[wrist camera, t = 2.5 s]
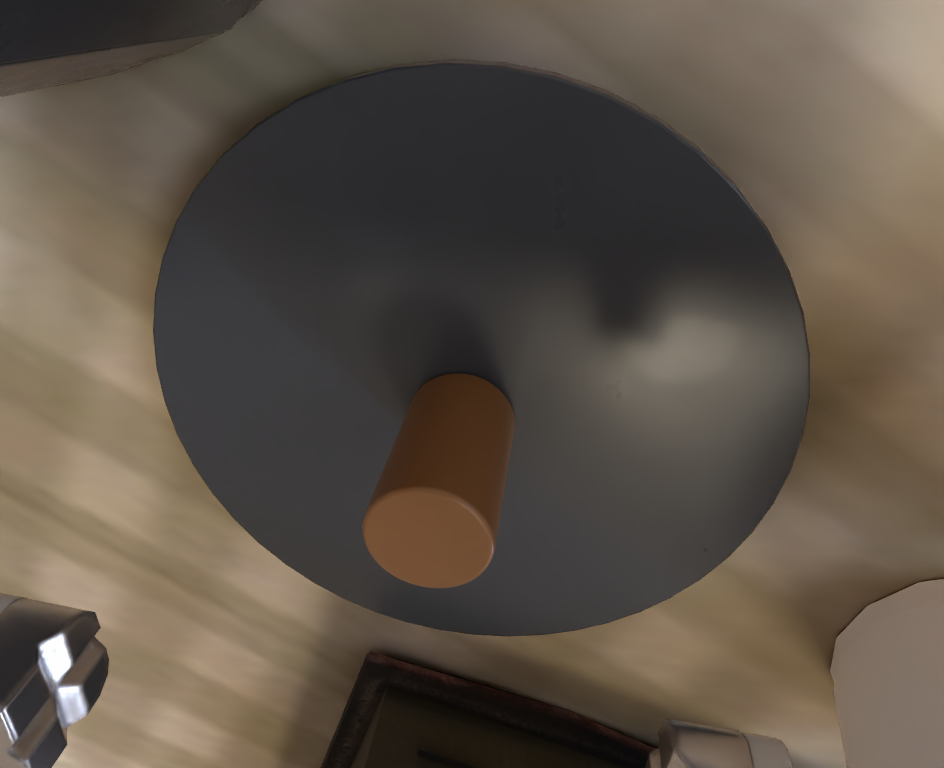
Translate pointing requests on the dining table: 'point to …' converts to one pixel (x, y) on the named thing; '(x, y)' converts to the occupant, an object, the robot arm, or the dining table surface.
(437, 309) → the lid
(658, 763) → the robot arm
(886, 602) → the foam cup
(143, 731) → the dining table surface
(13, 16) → the pot
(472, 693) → the diary
